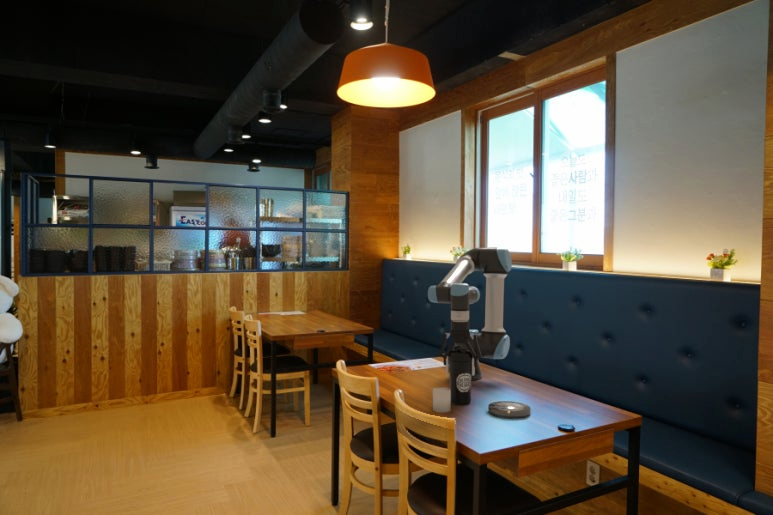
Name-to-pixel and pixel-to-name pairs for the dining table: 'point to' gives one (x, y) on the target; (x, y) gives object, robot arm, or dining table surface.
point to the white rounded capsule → (441, 399)
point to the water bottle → (460, 375)
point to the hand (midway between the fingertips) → (460, 373)
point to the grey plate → (509, 409)
